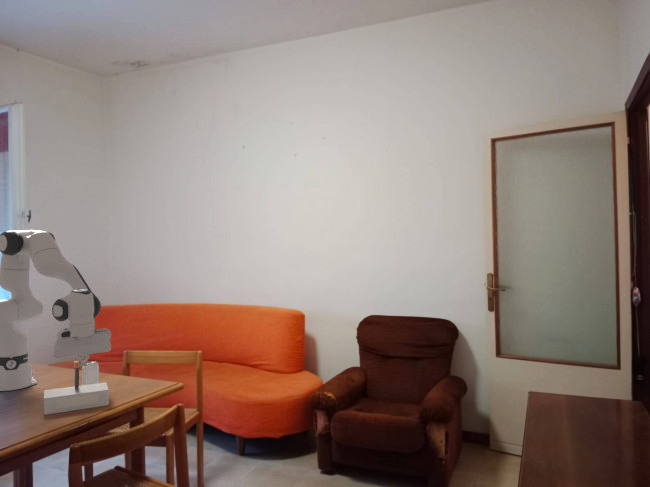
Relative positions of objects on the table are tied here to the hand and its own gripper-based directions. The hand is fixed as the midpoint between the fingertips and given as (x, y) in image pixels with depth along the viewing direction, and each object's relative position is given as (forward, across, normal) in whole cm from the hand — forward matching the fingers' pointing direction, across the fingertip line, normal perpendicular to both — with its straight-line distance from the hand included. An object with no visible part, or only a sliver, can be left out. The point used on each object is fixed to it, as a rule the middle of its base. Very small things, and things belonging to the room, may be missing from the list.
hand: (83, 365), depth 193 cm
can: (+15, -4, -19) cm, 25 cm away
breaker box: (+15, +3, 0) cm, 15 cm away
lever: (+9, +3, 0) cm, 9 cm away
